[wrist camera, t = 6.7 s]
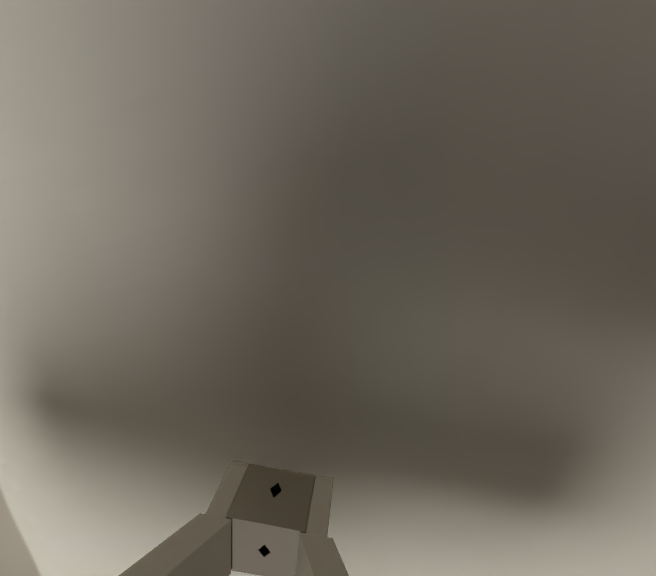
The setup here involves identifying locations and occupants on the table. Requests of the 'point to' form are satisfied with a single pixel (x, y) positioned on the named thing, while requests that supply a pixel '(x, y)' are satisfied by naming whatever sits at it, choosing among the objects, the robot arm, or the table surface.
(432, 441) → the table surface
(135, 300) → the table surface
